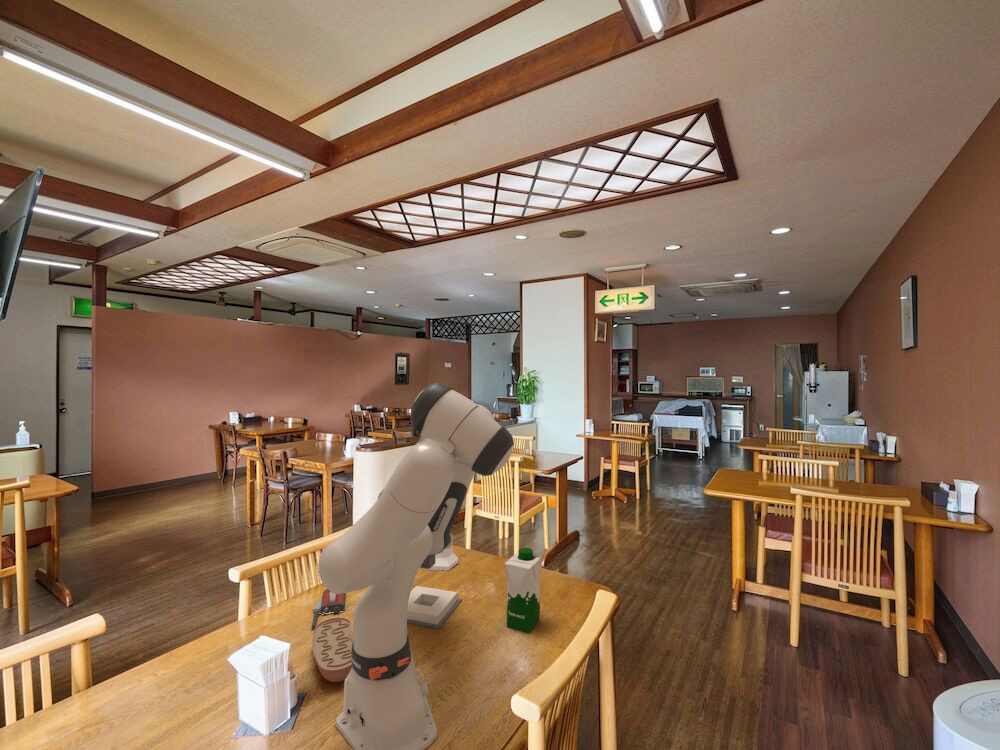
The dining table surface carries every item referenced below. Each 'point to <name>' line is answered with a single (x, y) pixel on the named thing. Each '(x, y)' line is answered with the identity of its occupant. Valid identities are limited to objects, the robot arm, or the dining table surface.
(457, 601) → the socket
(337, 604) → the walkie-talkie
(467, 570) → the dining table surface
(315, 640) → the anatomical model
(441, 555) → the white statue
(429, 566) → the plug
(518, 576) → the milk carton
